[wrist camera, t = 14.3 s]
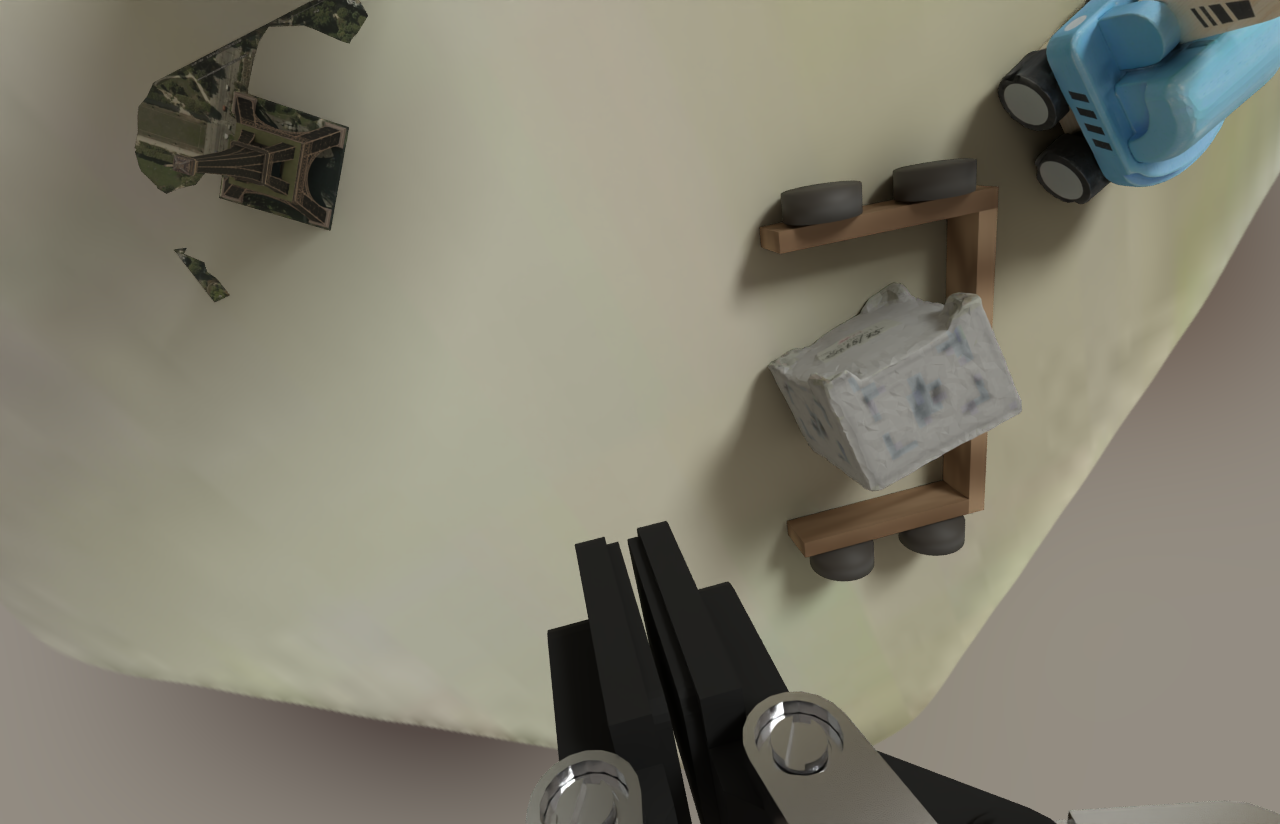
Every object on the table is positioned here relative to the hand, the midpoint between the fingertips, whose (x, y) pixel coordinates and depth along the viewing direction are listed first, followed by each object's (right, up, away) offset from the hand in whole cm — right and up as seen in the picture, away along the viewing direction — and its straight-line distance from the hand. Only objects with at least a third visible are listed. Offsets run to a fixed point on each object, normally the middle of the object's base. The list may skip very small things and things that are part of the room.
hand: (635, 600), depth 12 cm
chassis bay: (+16, +6, +33) cm, 37 cm away
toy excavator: (+25, +25, +28) cm, 45 cm away
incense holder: (+13, +7, +32) cm, 36 cm away
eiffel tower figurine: (-18, +17, +22) cm, 33 cm away
